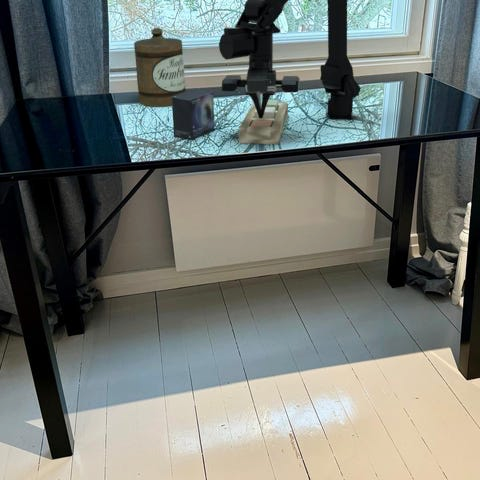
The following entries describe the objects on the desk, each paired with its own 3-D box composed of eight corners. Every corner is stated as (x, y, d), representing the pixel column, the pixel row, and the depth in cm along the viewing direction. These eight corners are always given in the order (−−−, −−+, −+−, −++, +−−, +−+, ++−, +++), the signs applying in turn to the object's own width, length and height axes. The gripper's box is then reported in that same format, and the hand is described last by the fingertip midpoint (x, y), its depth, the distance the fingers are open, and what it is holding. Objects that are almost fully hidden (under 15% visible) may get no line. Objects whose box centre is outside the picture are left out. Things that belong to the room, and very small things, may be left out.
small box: (192, 140, 143) (190, 99, 138) (172, 136, 146) (169, 96, 141) (216, 129, 151) (214, 90, 146) (196, 126, 154) (194, 87, 149)
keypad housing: (287, 115, 161) (288, 102, 160) (278, 144, 139) (278, 130, 137) (253, 114, 163) (253, 102, 161) (238, 142, 140) (238, 129, 139)
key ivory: (275, 116, 151) (275, 107, 150) (273, 121, 147) (273, 112, 146) (257, 116, 152) (256, 106, 151) (254, 121, 148) (254, 111, 147)
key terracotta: (272, 130, 146) (272, 120, 144) (270, 136, 141) (270, 126, 140) (253, 129, 146) (253, 120, 145) (250, 135, 142) (250, 125, 141)
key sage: (278, 109, 158) (278, 100, 157) (276, 113, 154) (276, 104, 152) (260, 108, 159) (260, 99, 158) (258, 113, 154) (258, 104, 153)
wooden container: (166, 109, 170) (160, 32, 159) (129, 103, 177) (121, 30, 166) (195, 98, 181) (191, 26, 170) (159, 93, 188) (153, 23, 177)
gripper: (216, 60, 129) (218, 126, 136) (297, 61, 126) (295, 128, 134) (225, 51, 139) (227, 113, 146) (300, 52, 136) (298, 115, 143)
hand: (261, 118), depth 142 cm, fingers closed
